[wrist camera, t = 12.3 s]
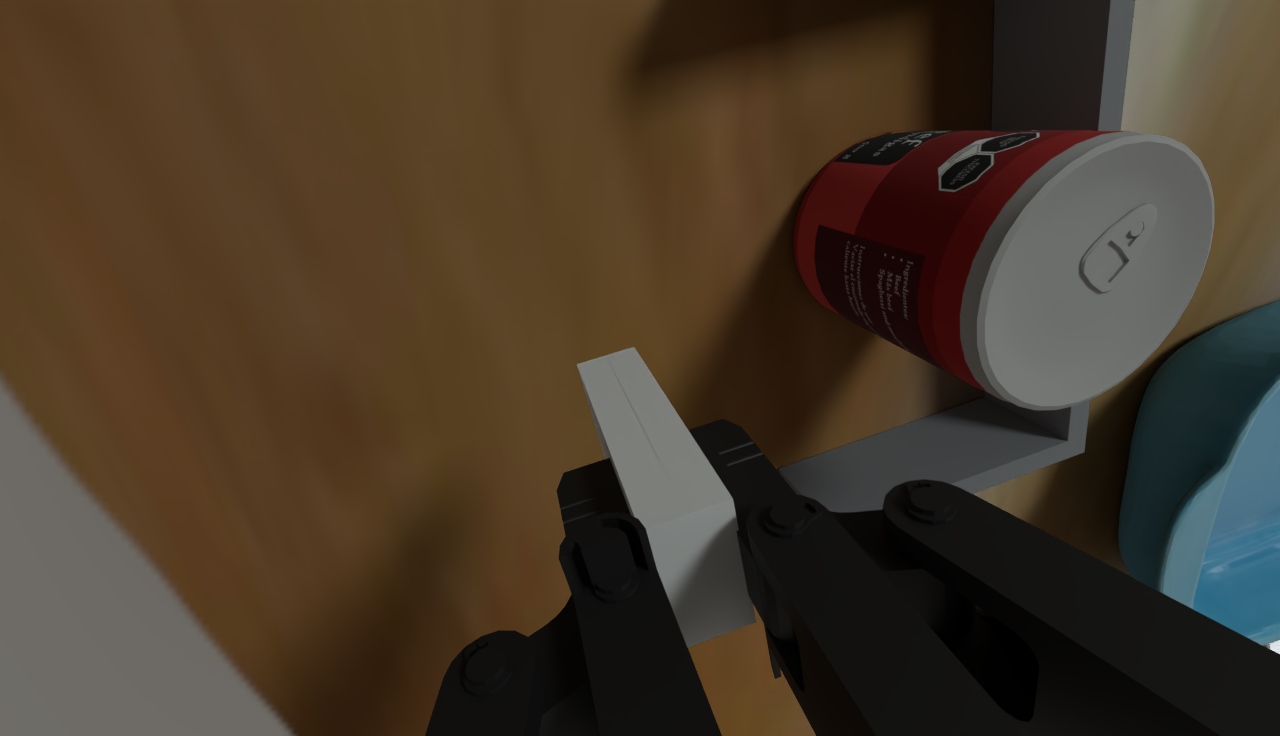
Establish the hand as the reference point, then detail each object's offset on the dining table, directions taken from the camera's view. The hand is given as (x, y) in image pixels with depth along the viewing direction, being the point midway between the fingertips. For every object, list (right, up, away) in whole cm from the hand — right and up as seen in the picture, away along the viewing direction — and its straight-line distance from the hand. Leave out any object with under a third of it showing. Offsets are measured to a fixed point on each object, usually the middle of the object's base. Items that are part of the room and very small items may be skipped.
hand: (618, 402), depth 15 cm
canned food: (+11, +7, +11) cm, 17 cm away
